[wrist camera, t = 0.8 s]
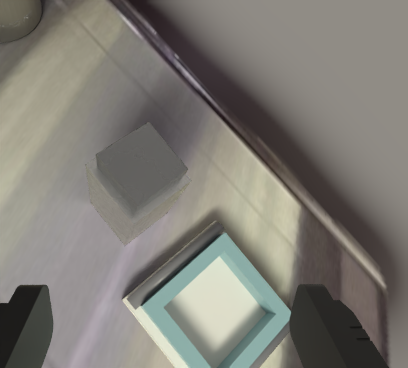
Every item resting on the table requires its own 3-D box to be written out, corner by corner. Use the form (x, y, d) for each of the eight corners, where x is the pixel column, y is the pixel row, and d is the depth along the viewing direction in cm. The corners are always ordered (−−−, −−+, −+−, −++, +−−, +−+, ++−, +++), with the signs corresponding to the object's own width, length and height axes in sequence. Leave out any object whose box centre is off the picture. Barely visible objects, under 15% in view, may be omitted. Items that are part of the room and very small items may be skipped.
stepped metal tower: (90, 203, 31) (83, 152, 20) (134, 173, 33) (149, 112, 22) (124, 246, 31) (136, 217, 20) (167, 213, 33) (198, 170, 22)
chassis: (121, 299, 29) (123, 300, 26) (212, 222, 34) (222, 215, 31) (210, 413, 28) (222, 425, 26) (291, 318, 33) (308, 320, 30)
